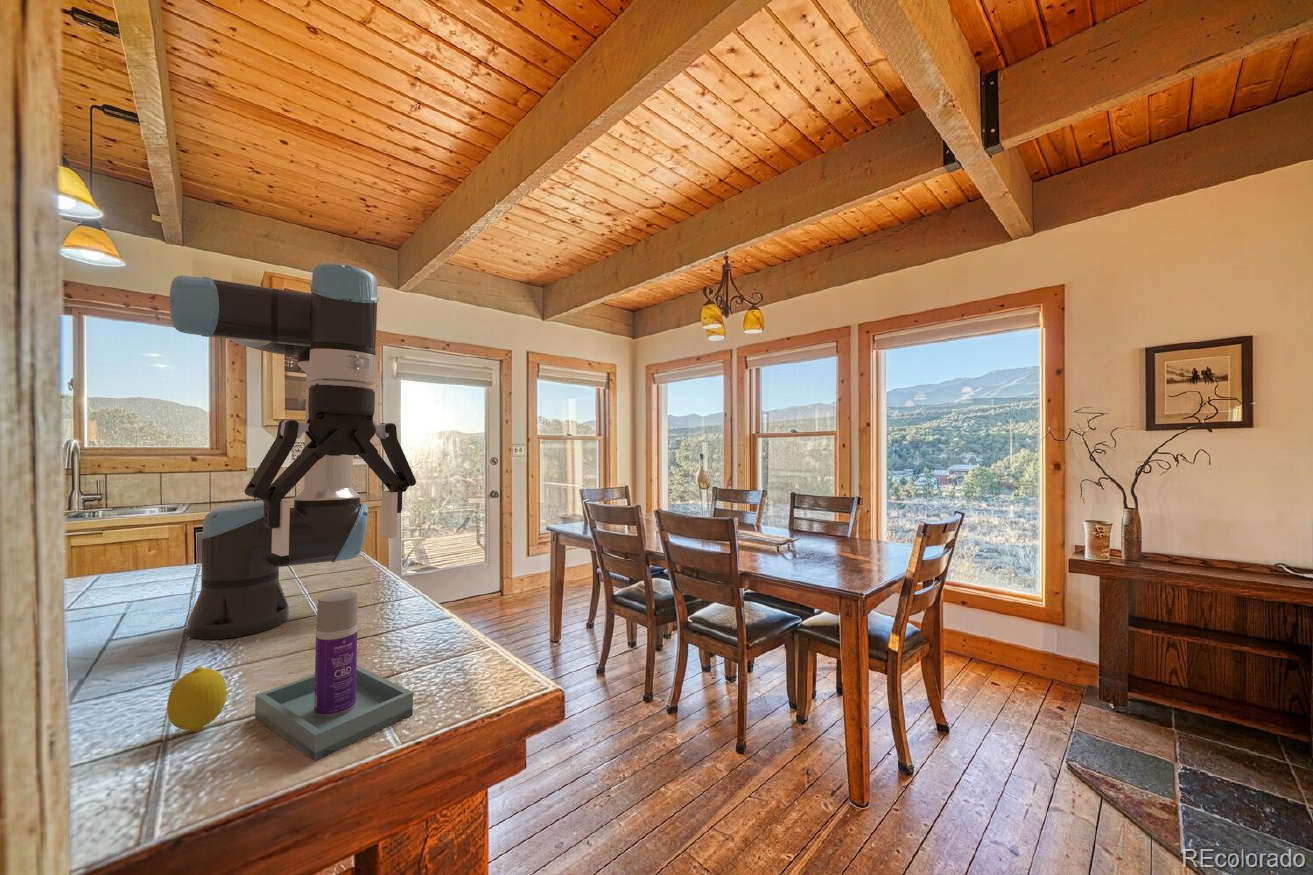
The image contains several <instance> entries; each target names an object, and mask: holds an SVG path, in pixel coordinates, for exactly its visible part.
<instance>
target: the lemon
mask: <svg viewBox="0 0 1313 875" xmlns="http://www.w3.org/2000/svg"><path fill="white" fill-rule="evenodd" d="M227 693H228V692H227V685H226V681H225V679H224V677H223V675H222V674H221V673H220V672H219V671H217V670H215V669H211V668H205V667H203V666H199V667H195V668H194V669H193V670H191V671H190V672H188V673H186V674H184V675H182V677H180V678H179V679H178V680H177V681H176V682H175V684H174V685H173V686H172V688H171V690H170V692H169V695H168V697H167V698H168V699H167V704H166V705H167V708H166V710H167V717H168V720H169V722H170V723H171V724H172V725H173V726H174V727H175V728H177V729H180V730H185V731H191V732H193V733H198V732H200V731H201V730H202V729H203V728H204V727H205V726H208V725H209V724H210V723H212V722H214V720H215V719H216V718H218V716H219V715H220V714H221V712H222V711H223V709H224V707H225V704H226V700H227V695H228V694H227Z"/></svg>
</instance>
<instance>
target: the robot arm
mask: <svg viewBox="0 0 1313 875" xmlns="http://www.w3.org/2000/svg"><path fill="white" fill-rule="evenodd" d="M309 290H310V292H311V293H307V292H300V291H294V290H287V289H280V288H275V287H274V288H272V287H265V286H258V285H252V284H246V283H241V282H234V281H233V282H232V281H226V280H221V279H220V280H219V279H213V278H212V277H208V276H202V277H200V276H199V277H198V276H191V275H183V274H182V275H177V276H176V277H174V278H173V280H172V281H171V284H170V289H169V313H170V315H169V316H170V320H171V324H172V326H173V327H174V329H175V330H176V331H177V332H180V333H182V334H187V335H195V336H201V337H206V338H211V337H212V338H221V339H228V340H230V341H232V342H233V343H235V344H238V345H240V346H244V347H249V348H252V349H255V350H259V351H261V352H266V353H272V354H276V355H286V356H294V357H297V366H298V367H299V368H300V369H301V370H302V371H303V372H304V373H305V374H306V375H305V376H306V377H305V380H306V382H305V415H304V416H305V419H304V422H300V421H299V422H298V420H295V419H294V420H293V419H282V420H280V421H279V422H278V425H277V426H278V427H277V433H276V437H275V439H274V441H273V442H272V444H271V445H270V448H269V449H268V451H267V453H266V454H265V455H264V457H263V459H262V461H261V462H260V464H259V466H258V467H257V469H256V471H255V472H254V474H253V476H252V477H251V479H250V481H249V482H248V484H247V485H246V487H245V489H244V494H245V495H246V496H248V497H251V498H254V499H255V498H256V499H260V500H259V501H252V502H246V503H240V504H234V505H228V506H224V507H220V508H217V509H213V510H212V511H210V512H208V513H207V514H206V515H205V516H204V519H203V526H202V534H201V536H200V540H202V546H201V547H202V549H201V550H202V552H201V554H202V556H201V575H200V576H201V583H200V592H199V594H198V596H197V599H196V601H195V603H194V605H193V608H192V610H191V613H190V615H189V618H188V620H187V627H186V628H187V629H186V630H187V633H186V634H187V636H188V637H190V638H193V639H198V640H222V639H230V638H232V639H233V638H238V637H243V636H249V635H253V634H257V633H262V632H264V631H268V630H270V629H273V628H275V627H278V626H280V625H282V624H283V623H285V622H287V620H288V619H289V617H290V616H289V615H290V614H289V613H290V610H289V608H290V607H289V603H288V601H287V598H286V596H285V592H284V591H283V588H282V585H281V583H280V579H279V578H280V568H281V567H282V568H283V567H292V566H301V565H308V564H309V565H311V564H318V563H319V564H320V563H328V562H329V563H337V562H341V561H347V560H352V559H355V558H356V557H358V556H359V555H360V553H361V552H362V549H363V547H364V541H365V539H366V538H365V536H366V532H367V525H368V514H369V506H368V504H365V503H363V502H361V495H360V494H359V493H358V492H357V491H356V490H354V488H353V470H354V469H353V467H354V466H353V463H354V462H353V461H354V460H353V459H354V456H358V457H360V458H361V459H362V460H363V461H364V462H365V464H367V466H368V467H369V468H370V469H371V470H372V472H373V473H374V474H375V475H376V477H377V478H378V479H379V480H380V481H381V482H382V483H383V484H384V485H385V487H386V488H387V489H388V490H382V491H381V509H380V510H381V512H380V514H381V515H380V517H381V518H380V536H381V537H385V538H387V539H388V538H389V539H394V538H397V529H398V526H397V524H398V514H400V513H402V510H403V493H405V492H407V491H408V488H409V487H414V486H415V485H416V484H417V479H416V477H415V475H414V473H413V470H412V469H411V466H410V464H409V462H408V460H407V456H406V454H405V453H404V451H403V448H402V446H401V444H400V442H399V440H398V431H397V425H396V424H395V423H393V422H381V423H379V424H375V423H374V415H375V409H376V408H375V404H376V392H375V391H374V388H371V386H373V385H374V384H376V358H377V357H376V356H377V355H376V352H377V350H376V344H377V343H376V342H377V341H376V340H377V323H378V322H377V321H378V320H377V319H378V302H379V301H380V300H379V299H380V297H379V296H378V281H377V277H376V276H375V275H374V274H373V273H371V271H367V270H366V269H363V268H360V267H356V266H352V265H348V264H341V263H321V264H318V265H316V266H315V267H314V268H313V270H312V274H311V285H310V288H309ZM303 434H304V447H303V449H302V450H301V453H300V454H299V455H298V456H297V457H296V458H295V459H294V460H293V461H292V462H291V463H290V464H289V465H288V467H287V468H285V470H283V472H282V473H281V474H279V476H278V477H277V475H278V473H279V471H280V470H281V469H282V466H283V465H284V463H285V461H286V460H287V458H288V456H289V454H290V453H291V451H292V449H293V448H294V446H295V444H296V442H297V439H300V438H301V437H302V435H303ZM374 436H376V437H377V438H378V439H379V442H380V444H381V446H382V448H383V450H384V453H385V455H386V457H387V459H388V461H389V463H390V465H391V467H392V468H391V467H390V466H389V464H388V463H387V462H386V461H385V459H384V458H383V457H382V456H381V455H380V453H379V451H378V449H377V448H376V447H375V446H374V444H373V443H372V442H371V440H372V438H373V437H374ZM276 477H277V478H276ZM275 478H276V479H275ZM302 478H303V489H302V491H300V492H299V493H297V495H296V496H295V497H294V498H293V506H292V507H291V502H290V501H287V500H285V499H284V498H285V497H286V495H288V494H289V492H291V490H292V489H293V488H294V487H295V486H296V485H297V484H298V483H299V482H300V480H302Z"/></svg>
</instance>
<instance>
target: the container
mask: <svg viewBox="0 0 1313 875" xmlns="http://www.w3.org/2000/svg"><path fill="white" fill-rule="evenodd" d="M316 609H317V611H316V613H317V614H316V625H315V626H316V630H315V631H316V632H315V655H314V656H315V658H314V660H315V661H314V662H315V663H314V675H315V700H314V714H315V716H316V717H318V718H333V717H337V716H341V715H343V714H346V713H348V712H349V711H351V710H352V709H353V708H354V707H355V703H356V667H357V666H358V665H357V660H358V659H357V658H358V593H357V592H355V591H348V590H344V591H343V590H341V591H335V592H333V591H332V592H328V593H325V594H322V595H320V596H319V597H318V598H317V608H316Z"/></svg>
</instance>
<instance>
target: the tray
mask: <svg viewBox="0 0 1313 875" xmlns="http://www.w3.org/2000/svg"><path fill="white" fill-rule="evenodd" d="M314 700H315V674H313V675H310V676H307V677H306V676H305V677H303V678H300V679H298V680H295V681H292V682H289V683H287V684H283V685H281V686H277V687H275V688H272V689H270V690H266V691H263V692H260V693H257V694H255V700H254V701H255V702H254V703H255V704H254V705H255V706H254V708H255V709H254V718H255V719H256V720H257V721H259V722H260V723H261V724H263V725H264V726H266V727H267V728H268V729H270V730H271V731H272V732H274V733H275V734H277V735H278V736H279V737H280V738H282V739H284V740H285V741H287V743H289V744H290V745H292V746H293V747H294V748H296V749H297V750H298V751H300V752H301V753H303V754H304V755H305V756H306V757H308V758H309V759H311V760H312V761H314V762H316V761H318V760H321V759H323V758H324V757H326V756H328V755H329V756H330V755H331V754H333V753H335V752H337V751H339V750H342V749H344V748H346V747H347V746H350V745H353V744H354V743H357V742H358V741H360V740H362V739H364V738H367V737H369V736H371V735H374V734H375V733H377V732H379V731H381V730H384V729H386V728H388V727H390V726H391V725H392V726H393V725H394V724H396V723H398V722H400V721H402V720H405V719H407V718H409V717H410V716H412V715H413V713H414V712H413V711H414V710H413V708H414V703H413V702H414V692H413V691H411V690H409V689H407V688H405V687H403V686H400V684H399V685H398V684H397V683H395V682H393V681H390V680H388V679H385V677H382V676H381V675H378V674H376V673H373V672H371V671H370V670H367V669H365V668H364V667H361V666H359V665H357V667H356V703H355V707H354V708H353V709H352V710H351V711H349V712H348V713H346V714H343V715H341V716H337V717H333V718H318V717H316V716H315V714H314Z"/></svg>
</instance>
